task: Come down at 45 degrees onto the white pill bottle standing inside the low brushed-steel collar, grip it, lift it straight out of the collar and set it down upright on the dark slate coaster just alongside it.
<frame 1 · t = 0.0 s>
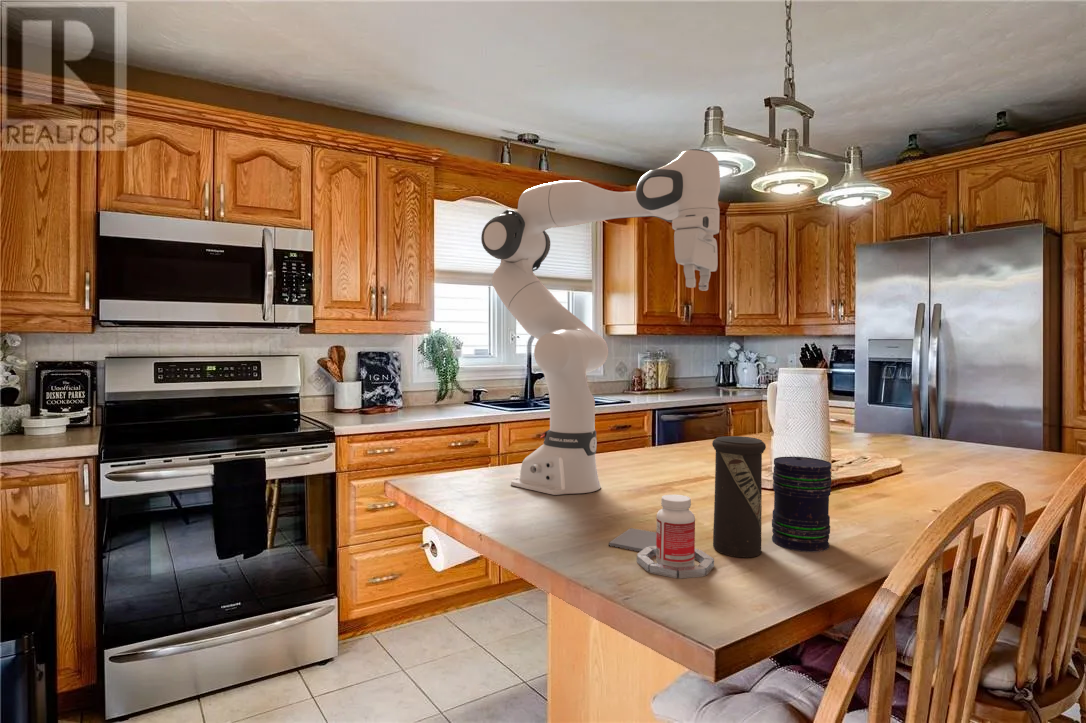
hand: (697, 288, 137), 48 cm above the kitchen island, tool pointing down, fingers open, 8 cm apart
container: (736, 550, 109), on the kitchen island
coaster: (645, 542, 113), on the kitchen island
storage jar: (800, 544, 114), on the kitchen island
pill bottle: (675, 565, 102), resting in collar
collar: (675, 564, 102), on the kitchen island
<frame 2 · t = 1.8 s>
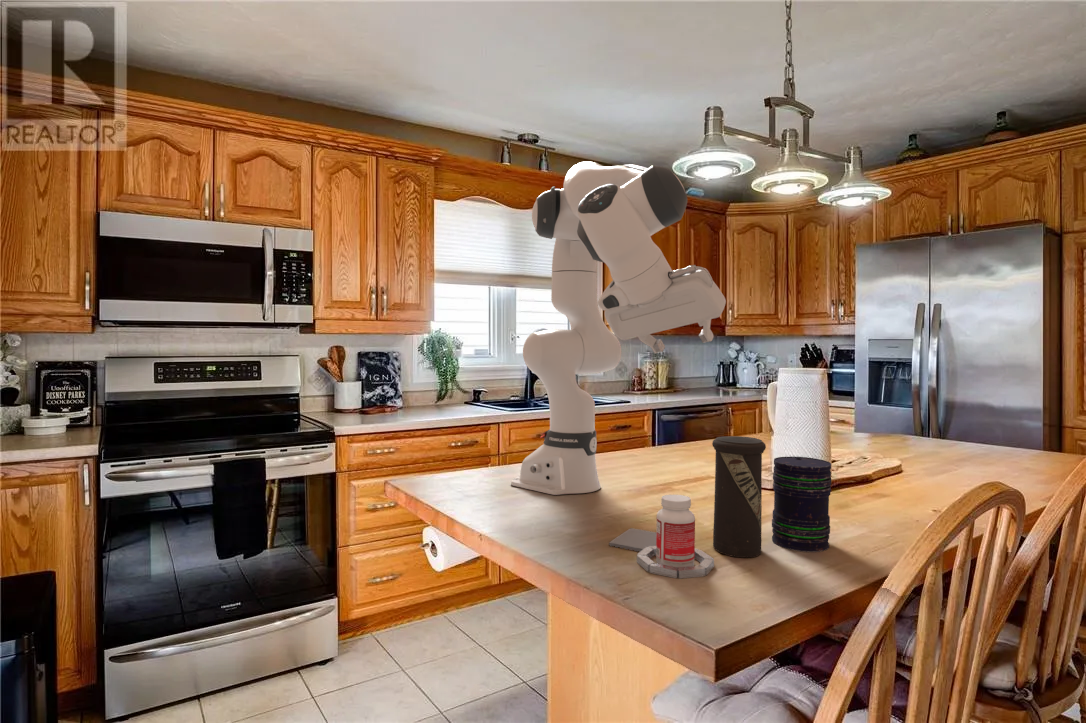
hand: (683, 345, 106), 36 cm above the kitchen island, tool tilted 40°, fingers open, 8 cm apart
nothing on the kitchen island moved.
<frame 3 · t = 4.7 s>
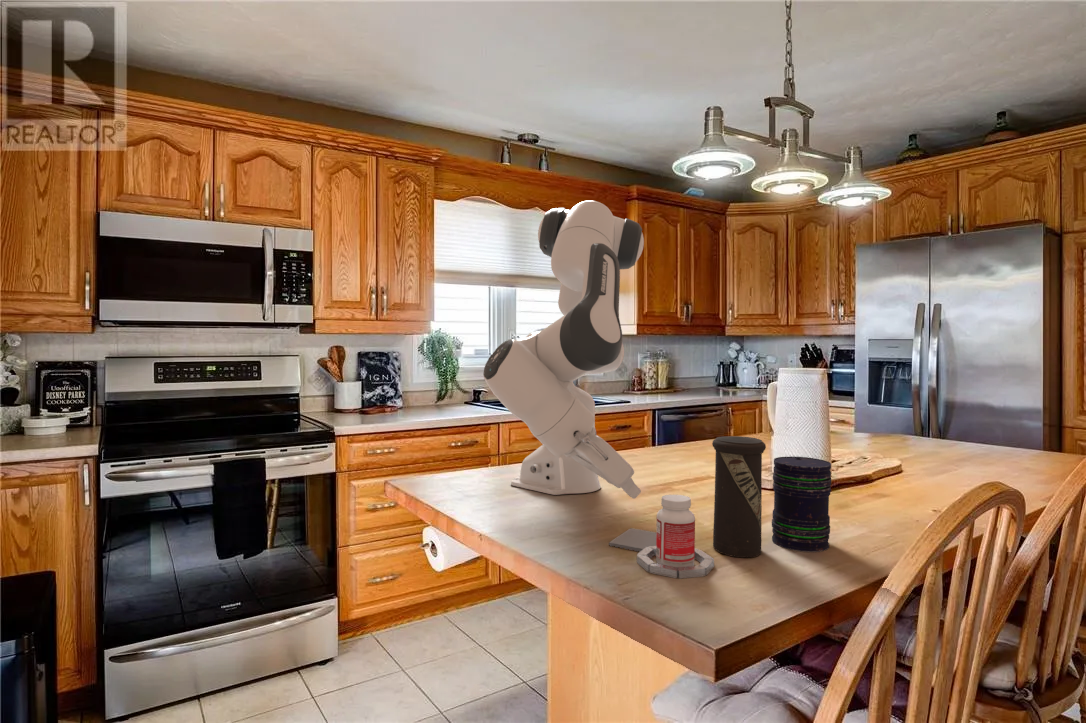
hand: (624, 487, 100), 13 cm above the kitchen island, tool tilted 45°, fingers open, 8 cm apart
nothing on the kitchen island moved.
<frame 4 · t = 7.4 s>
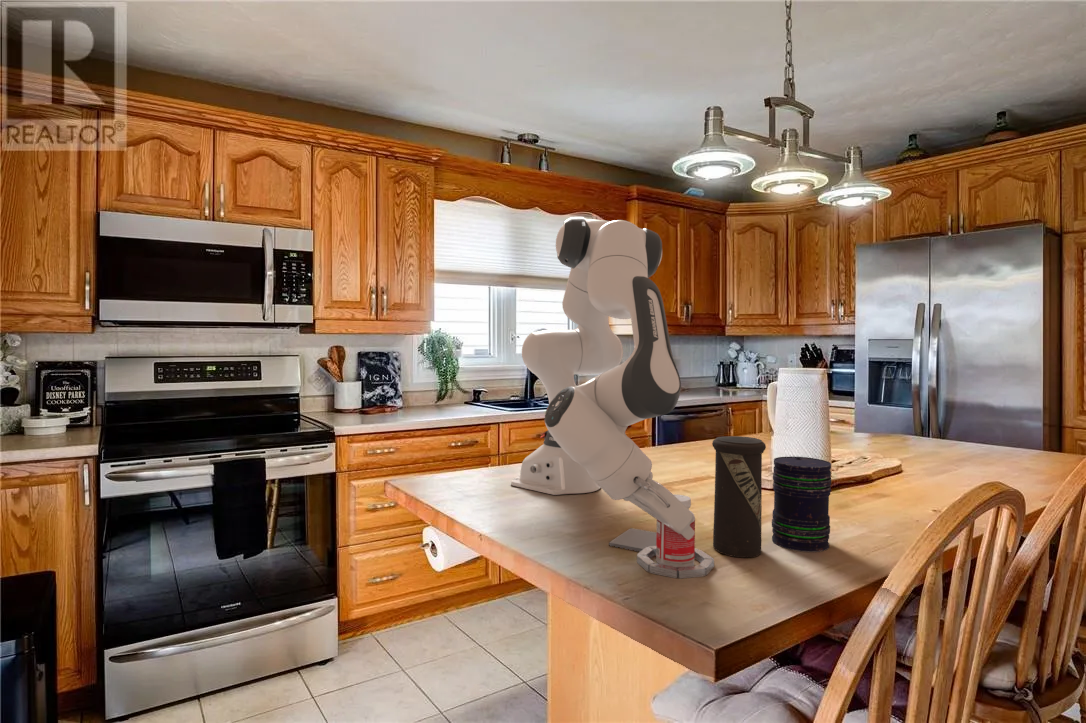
hand: (679, 528, 102), 6 cm above the kitchen island, tool tilted 45°, fingers closed on pill bottle, 6 cm apart
pill bottle: (675, 565, 102), resting in collar, touching gripper
everything else where it was.
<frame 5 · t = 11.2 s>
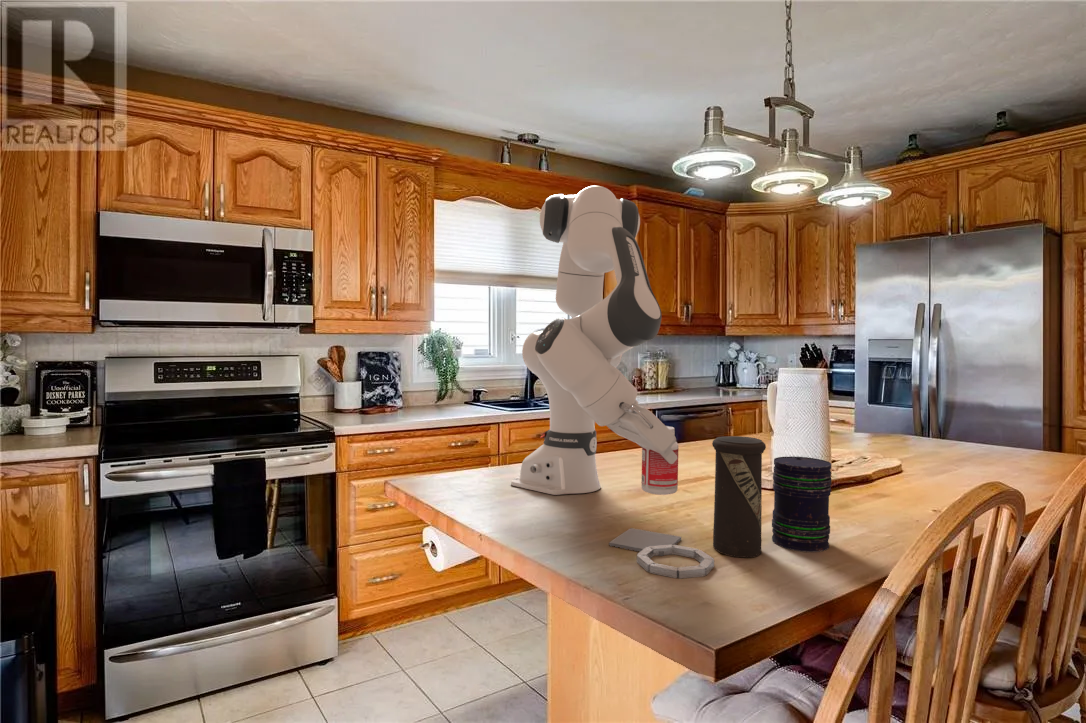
hand: (663, 456, 107), 17 cm above the kitchen island, tool tilted 45°, fingers closed on pill bottle, 6 cm apart
pill bottle: (659, 492, 108), point 11 cm above the kitchen island, touching gripper
everything else where it was.
when the fingers open (7 cm above the kitchen island, at t = 15.5 s): pill bottle stays where it is, resting on coaster.
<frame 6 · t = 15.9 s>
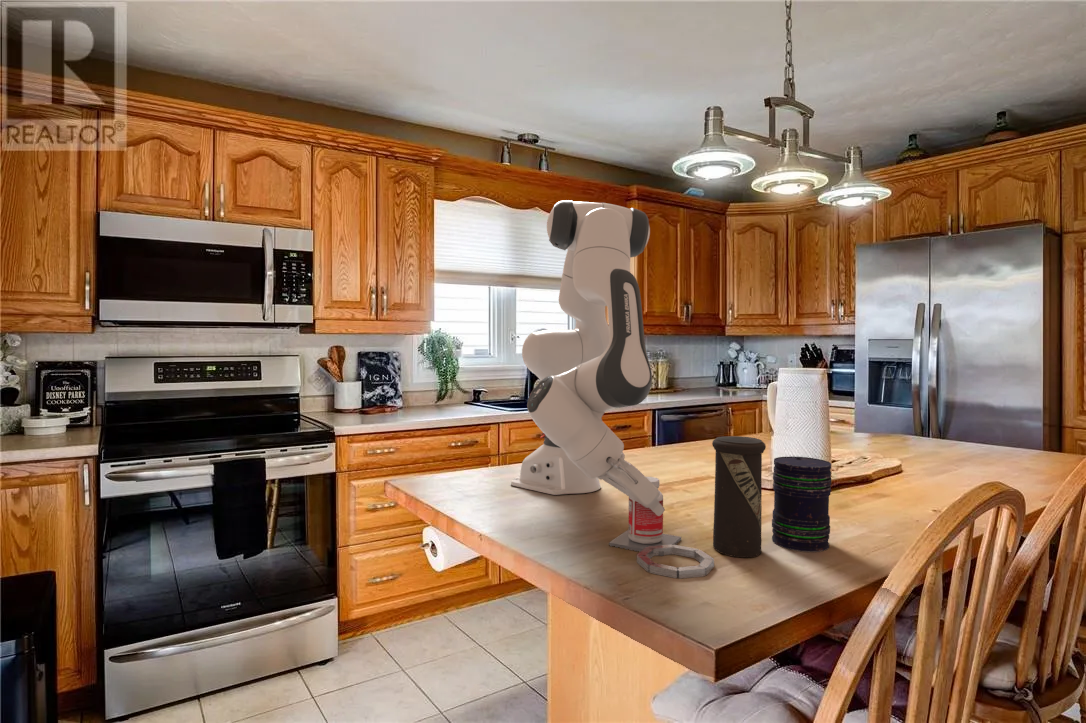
hand: (649, 505, 113), 7 cm above the kitchen island, tool tilted 45°, fingers open, 8 cm apart
pill bottle: (645, 540, 113), resting on coaster
everything else where it was.
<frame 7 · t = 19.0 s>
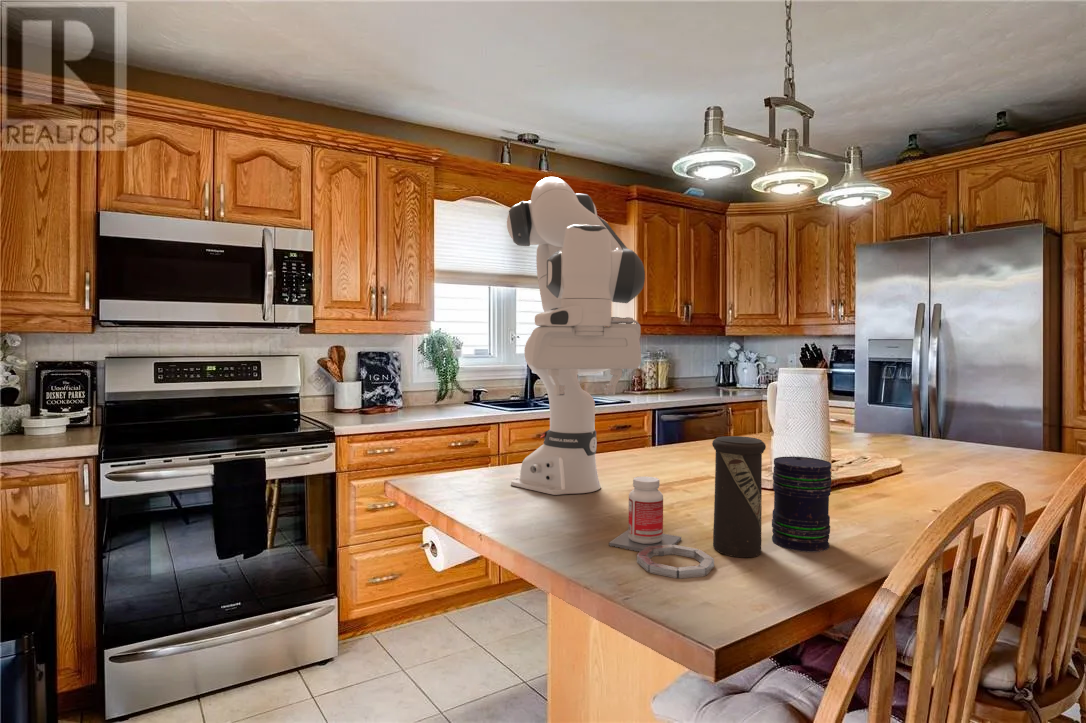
hand: (584, 395, 110), 27 cm above the kitchen island, tool pointing down, fingers open, 8 cm apart
nothing on the kitchen island moved.
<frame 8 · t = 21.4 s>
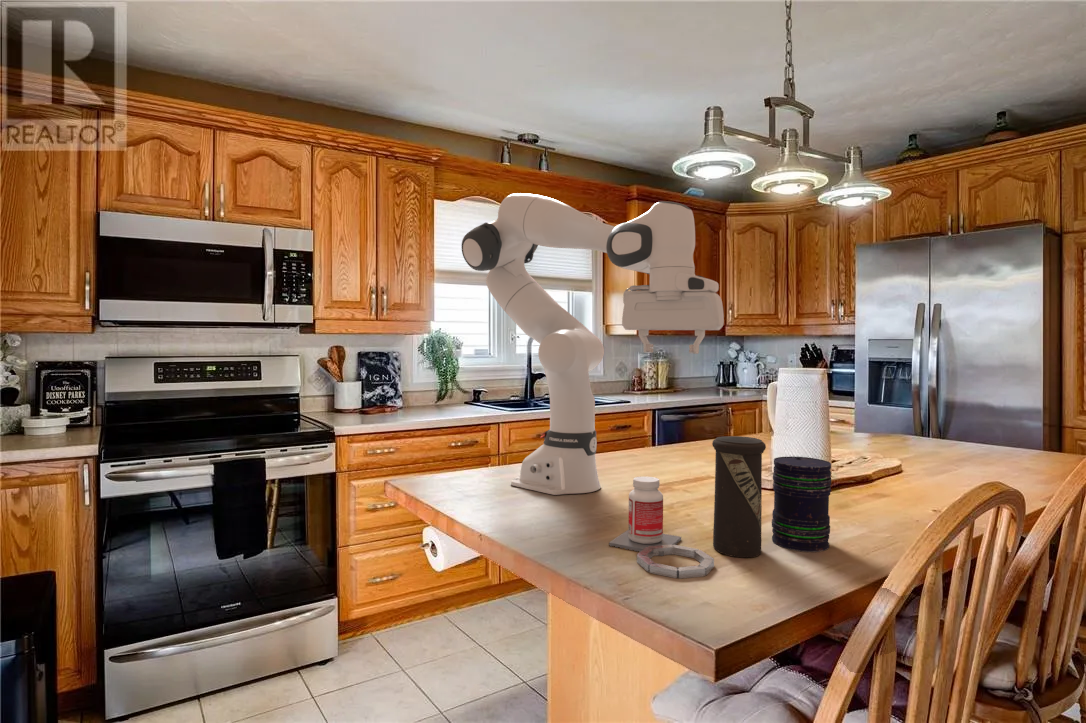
hand: (670, 353, 125), 34 cm above the kitchen island, tool pointing down, fingers open, 8 cm apart
nothing on the kitchen island moved.
at the end: pill bottle inside the target area on the coaster (0.1 cm from its centre), point 0.4 cm above the coaster's base; pill bottle tilted 0°; the gripper is holding nothing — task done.
